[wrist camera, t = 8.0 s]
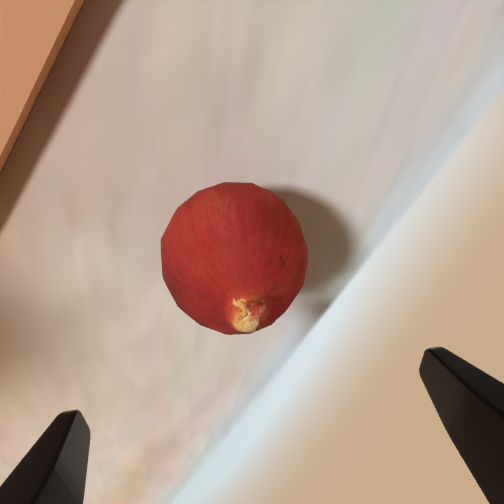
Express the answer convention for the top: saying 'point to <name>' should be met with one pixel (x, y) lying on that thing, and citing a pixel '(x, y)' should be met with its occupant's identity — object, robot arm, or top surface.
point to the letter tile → (28, 57)
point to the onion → (234, 257)
